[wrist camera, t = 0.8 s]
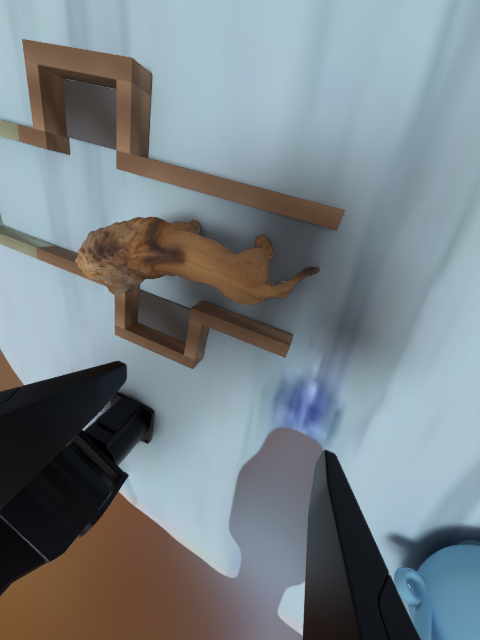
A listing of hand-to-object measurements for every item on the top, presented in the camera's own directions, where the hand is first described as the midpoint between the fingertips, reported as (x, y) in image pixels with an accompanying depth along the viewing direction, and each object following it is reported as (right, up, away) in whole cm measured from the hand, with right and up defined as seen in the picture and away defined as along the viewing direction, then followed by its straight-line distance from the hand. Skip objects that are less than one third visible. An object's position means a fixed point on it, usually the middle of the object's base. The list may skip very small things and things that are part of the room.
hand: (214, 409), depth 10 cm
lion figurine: (0, +9, +11) cm, 14 cm away
